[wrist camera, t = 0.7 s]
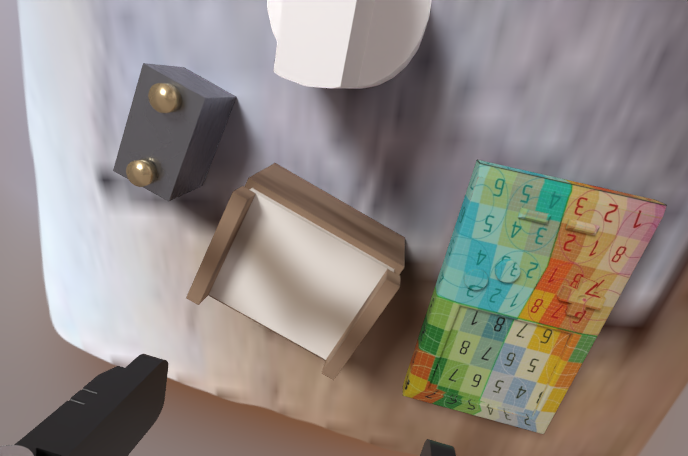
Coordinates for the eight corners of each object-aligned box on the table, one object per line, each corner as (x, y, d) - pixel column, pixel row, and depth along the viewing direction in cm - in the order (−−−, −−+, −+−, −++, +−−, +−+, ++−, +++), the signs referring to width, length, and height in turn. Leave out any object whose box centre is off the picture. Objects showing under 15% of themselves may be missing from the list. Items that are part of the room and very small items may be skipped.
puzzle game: (676, 209, 23) (547, 444, 30) (633, 190, 27) (530, 399, 35) (482, 165, 24) (402, 404, 31) (471, 153, 28) (403, 365, 36)
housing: (185, 67, 29) (135, 62, 24) (237, 96, 29) (198, 98, 24) (155, 159, 32) (104, 173, 27) (203, 185, 32) (162, 204, 27)
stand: (275, 163, 31) (235, 184, 24) (404, 237, 31) (404, 280, 24) (229, 259, 34) (183, 303, 27) (345, 325, 35) (330, 384, 28)
